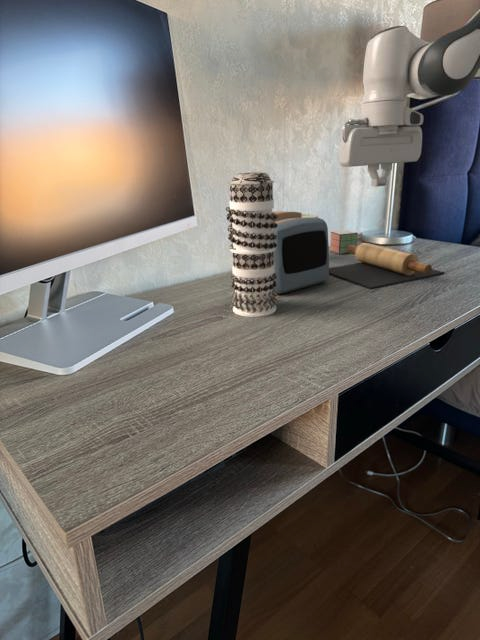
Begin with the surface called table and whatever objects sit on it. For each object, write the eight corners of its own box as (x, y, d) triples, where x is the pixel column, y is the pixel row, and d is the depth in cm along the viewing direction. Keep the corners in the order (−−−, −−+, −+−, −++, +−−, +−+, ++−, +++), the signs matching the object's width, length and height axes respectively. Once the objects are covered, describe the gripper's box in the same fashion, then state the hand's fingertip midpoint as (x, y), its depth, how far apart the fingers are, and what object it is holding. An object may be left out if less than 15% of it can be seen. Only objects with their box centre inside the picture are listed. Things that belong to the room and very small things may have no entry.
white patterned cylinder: (222, 307, 87) (214, 174, 78) (261, 298, 91) (259, 171, 82) (245, 321, 80) (240, 175, 71) (287, 311, 84) (288, 172, 75)
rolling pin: (357, 256, 120) (358, 238, 118) (435, 278, 98) (437, 256, 96) (342, 259, 118) (343, 240, 116) (418, 282, 96) (420, 259, 94)
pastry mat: (388, 259, 119) (388, 257, 118) (444, 273, 103) (444, 272, 103) (320, 271, 110) (320, 269, 110) (370, 289, 95) (370, 287, 95)
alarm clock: (277, 298, 92) (277, 219, 86) (232, 281, 104) (229, 212, 98) (332, 282, 100) (335, 210, 95) (285, 269, 113) (284, 205, 107)
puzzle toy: (357, 252, 127) (358, 232, 125) (339, 254, 126) (340, 234, 124) (346, 248, 132) (347, 229, 130) (329, 250, 131) (330, 231, 129)
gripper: (353, 117, 87) (350, 190, 92) (429, 115, 95) (423, 183, 100) (333, 120, 92) (332, 189, 97) (407, 118, 100) (402, 181, 105)
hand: (378, 186), depth 99 cm, fingers closed
